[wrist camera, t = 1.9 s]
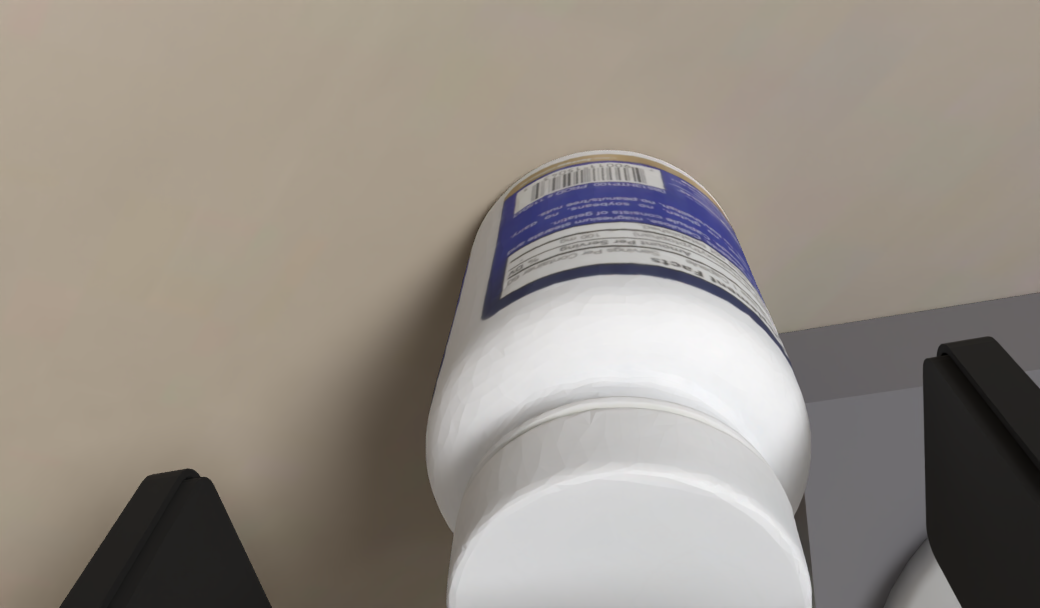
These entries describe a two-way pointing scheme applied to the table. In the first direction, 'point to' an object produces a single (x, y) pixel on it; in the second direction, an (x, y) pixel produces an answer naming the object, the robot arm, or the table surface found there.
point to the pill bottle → (616, 403)
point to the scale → (883, 447)
